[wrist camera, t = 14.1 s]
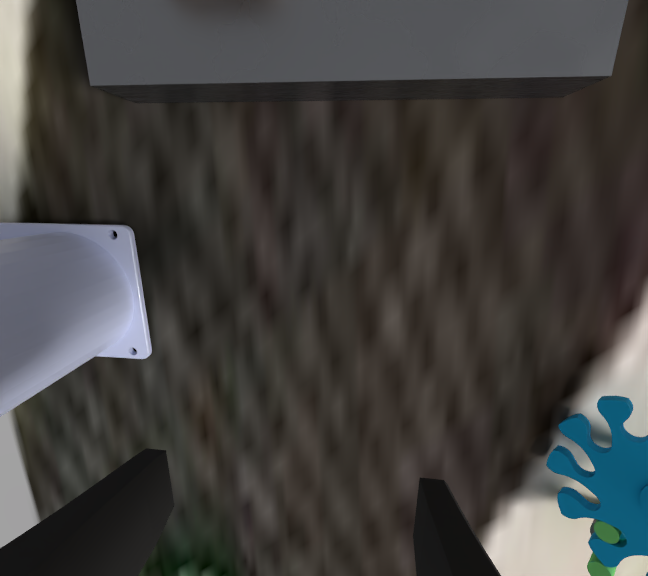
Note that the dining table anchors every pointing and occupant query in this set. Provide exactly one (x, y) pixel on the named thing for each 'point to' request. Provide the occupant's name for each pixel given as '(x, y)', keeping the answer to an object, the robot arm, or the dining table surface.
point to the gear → (607, 486)
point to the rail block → (347, 48)
